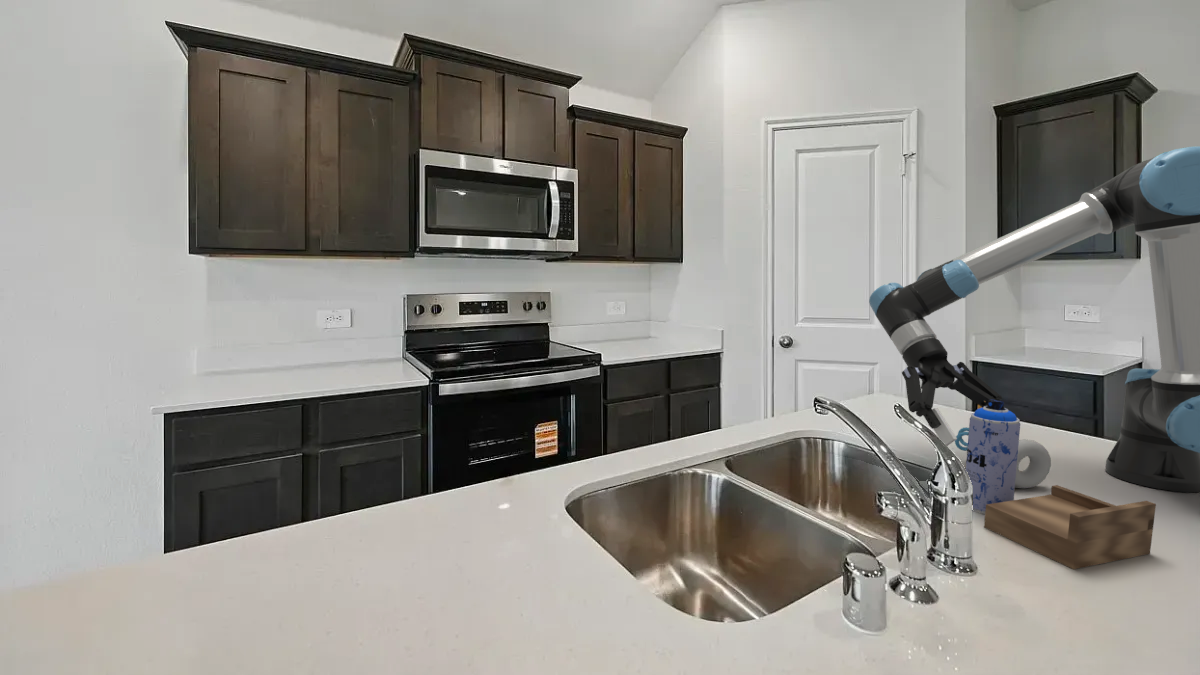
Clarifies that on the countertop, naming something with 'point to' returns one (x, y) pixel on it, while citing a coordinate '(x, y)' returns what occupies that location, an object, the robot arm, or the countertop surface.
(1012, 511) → the shelf step
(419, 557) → the countertop surface
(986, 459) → the aerosol can
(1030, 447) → the donut
